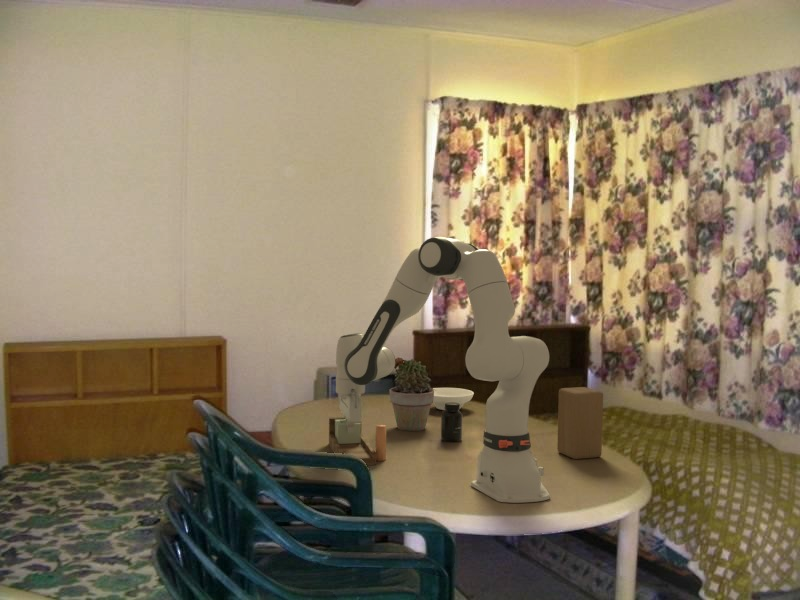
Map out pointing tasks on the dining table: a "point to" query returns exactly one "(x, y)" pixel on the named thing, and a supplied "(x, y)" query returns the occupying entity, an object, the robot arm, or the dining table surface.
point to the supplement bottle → (451, 423)
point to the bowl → (451, 396)
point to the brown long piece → (351, 445)
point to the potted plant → (411, 395)
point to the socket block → (346, 437)
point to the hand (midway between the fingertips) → (349, 432)
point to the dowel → (381, 442)
